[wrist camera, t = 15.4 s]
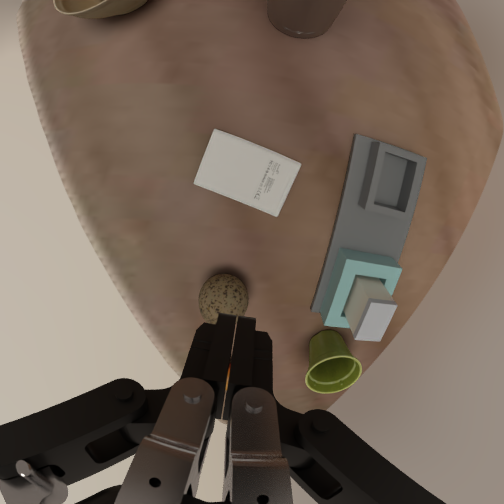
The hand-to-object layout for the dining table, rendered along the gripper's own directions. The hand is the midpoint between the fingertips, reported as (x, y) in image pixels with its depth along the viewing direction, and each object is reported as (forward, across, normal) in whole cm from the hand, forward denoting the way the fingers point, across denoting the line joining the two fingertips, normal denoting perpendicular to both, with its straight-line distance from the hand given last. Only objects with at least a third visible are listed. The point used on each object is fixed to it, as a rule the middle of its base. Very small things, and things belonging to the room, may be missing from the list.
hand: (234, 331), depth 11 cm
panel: (+29, -18, +3) cm, 34 cm away
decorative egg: (+29, +2, +15) cm, 33 cm away
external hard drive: (+30, +2, -3) cm, 30 cm away
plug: (+28, -18, +11) cm, 35 cm away
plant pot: (+29, -17, +24) cm, 41 cm away
